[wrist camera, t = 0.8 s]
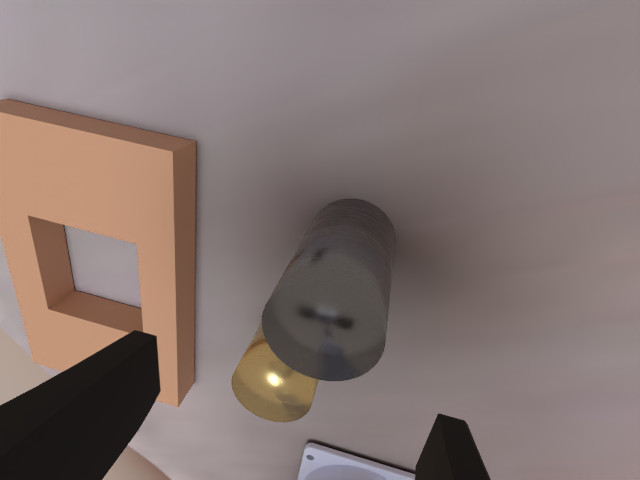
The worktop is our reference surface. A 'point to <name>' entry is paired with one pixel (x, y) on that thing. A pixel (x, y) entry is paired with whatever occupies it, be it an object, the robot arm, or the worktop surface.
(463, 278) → the worktop surface
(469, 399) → the worktop surface
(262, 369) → the short brass pin
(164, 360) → the hole board
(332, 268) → the long steel pin
